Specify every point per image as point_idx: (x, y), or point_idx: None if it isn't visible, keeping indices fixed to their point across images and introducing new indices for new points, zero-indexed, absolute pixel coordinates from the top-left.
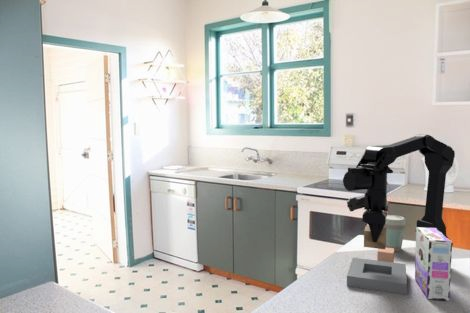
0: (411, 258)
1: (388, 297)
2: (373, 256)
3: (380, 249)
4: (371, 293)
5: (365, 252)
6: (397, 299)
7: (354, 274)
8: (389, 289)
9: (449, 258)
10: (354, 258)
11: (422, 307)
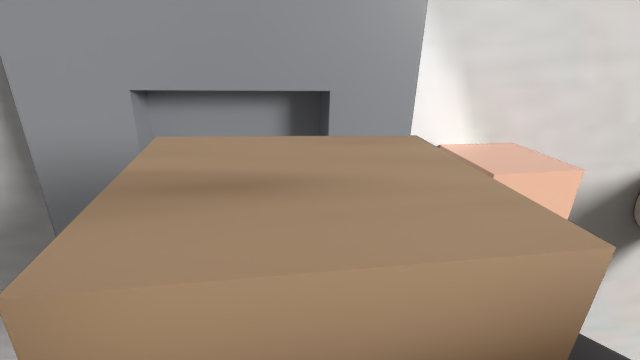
0: None
1: (15, 231)
2: (571, 115)
3: (533, 187)
4: (7, 147)
5: (632, 67)
6: (20, 268)
7: (49, 30)
8: None
9: None
10: (410, 7)
11: (3, 356)
